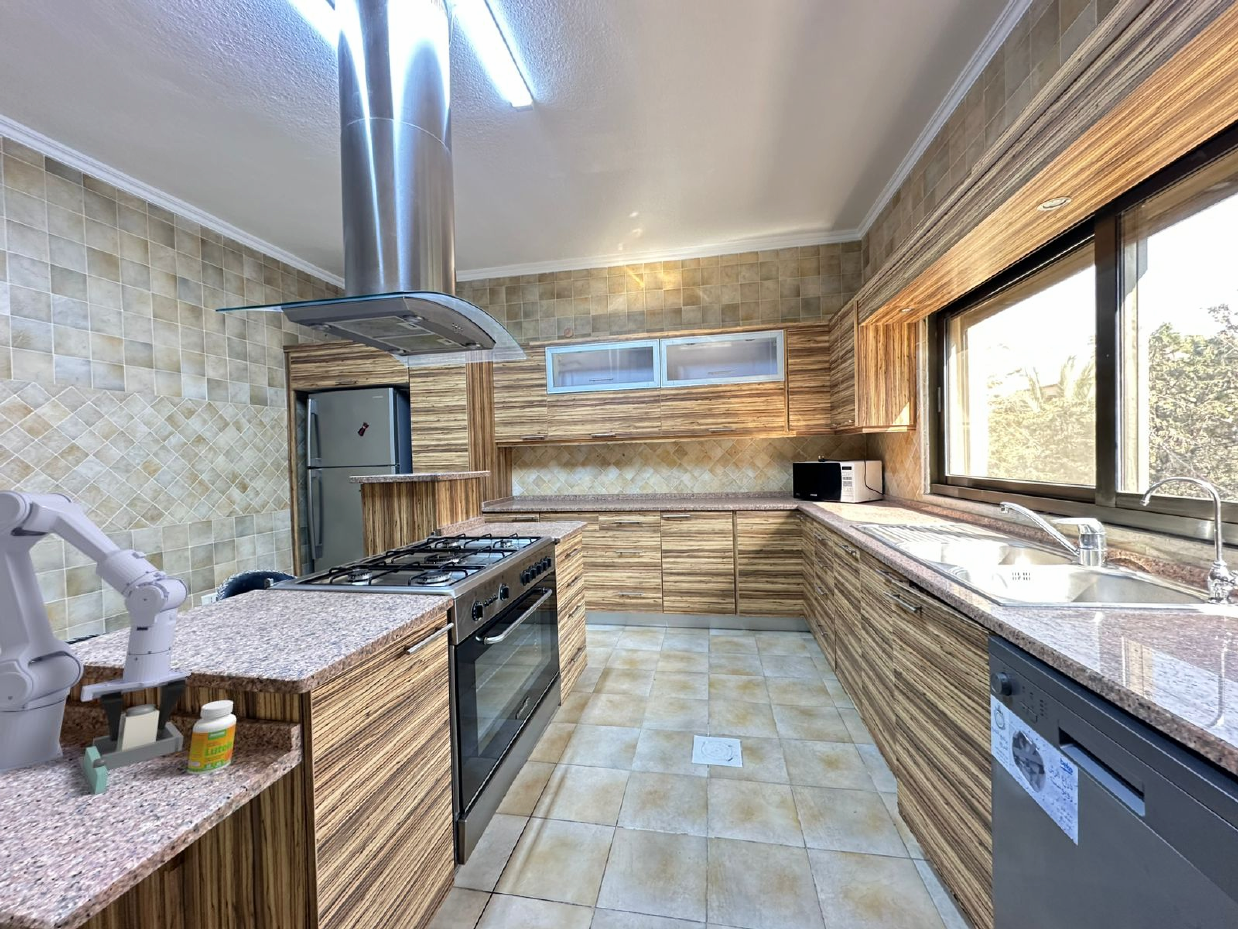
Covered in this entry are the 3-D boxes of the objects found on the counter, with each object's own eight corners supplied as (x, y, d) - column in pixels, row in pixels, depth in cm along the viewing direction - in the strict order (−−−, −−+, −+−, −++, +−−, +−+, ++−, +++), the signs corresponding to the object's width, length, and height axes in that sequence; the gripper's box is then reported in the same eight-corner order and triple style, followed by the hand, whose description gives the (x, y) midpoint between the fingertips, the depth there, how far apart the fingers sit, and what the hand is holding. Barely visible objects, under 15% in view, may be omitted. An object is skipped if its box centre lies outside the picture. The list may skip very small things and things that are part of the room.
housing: (76, 758, 78) (79, 742, 78) (167, 735, 87) (169, 721, 87) (91, 797, 67) (94, 779, 67) (193, 767, 76) (196, 750, 76)
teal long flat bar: (81, 765, 75) (85, 743, 75) (94, 761, 76) (97, 740, 77) (93, 794, 67) (97, 770, 68) (107, 790, 68) (111, 766, 69)
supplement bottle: (201, 779, 73) (209, 713, 74) (178, 772, 74) (187, 707, 76) (238, 763, 78) (246, 701, 79) (217, 757, 79) (224, 696, 81)
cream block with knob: (116, 752, 79) (122, 709, 80) (149, 743, 82) (154, 702, 83) (120, 758, 77) (126, 713, 78) (154, 749, 80) (159, 706, 81)
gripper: (91, 664, 74) (76, 757, 72) (210, 646, 85) (199, 726, 83) (85, 655, 78) (70, 743, 76) (199, 640, 89) (189, 715, 88)
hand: (137, 733), depth 80 cm, fingers open, 5 cm apart
